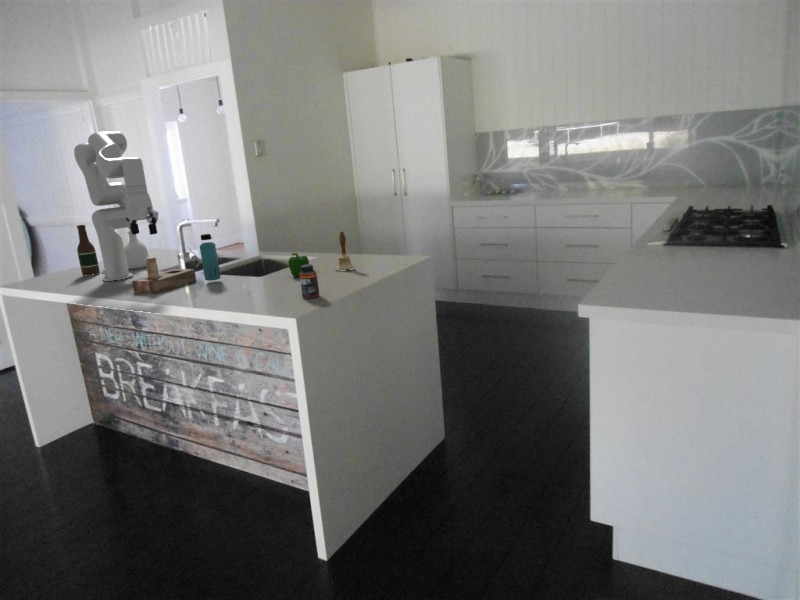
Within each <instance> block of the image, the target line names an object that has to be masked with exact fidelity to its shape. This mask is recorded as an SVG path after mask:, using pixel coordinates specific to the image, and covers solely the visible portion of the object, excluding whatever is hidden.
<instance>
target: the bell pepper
mask: <svg viewBox="0 0 800 600" xmlns="http://www.w3.org/2000/svg"><path fill="white" fill-rule="evenodd" d="M306 264H310V260H309V258H308V257H307V255H302V256H300V255H298V253H297V252H292V253H291V257H290V258H289V259H288V268H289V270H290V274H291V275H292V276H293V277H294V278H300V275H299V274H300V272H301V271H302V270H301V266H302V265H306Z"/></svg>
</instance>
